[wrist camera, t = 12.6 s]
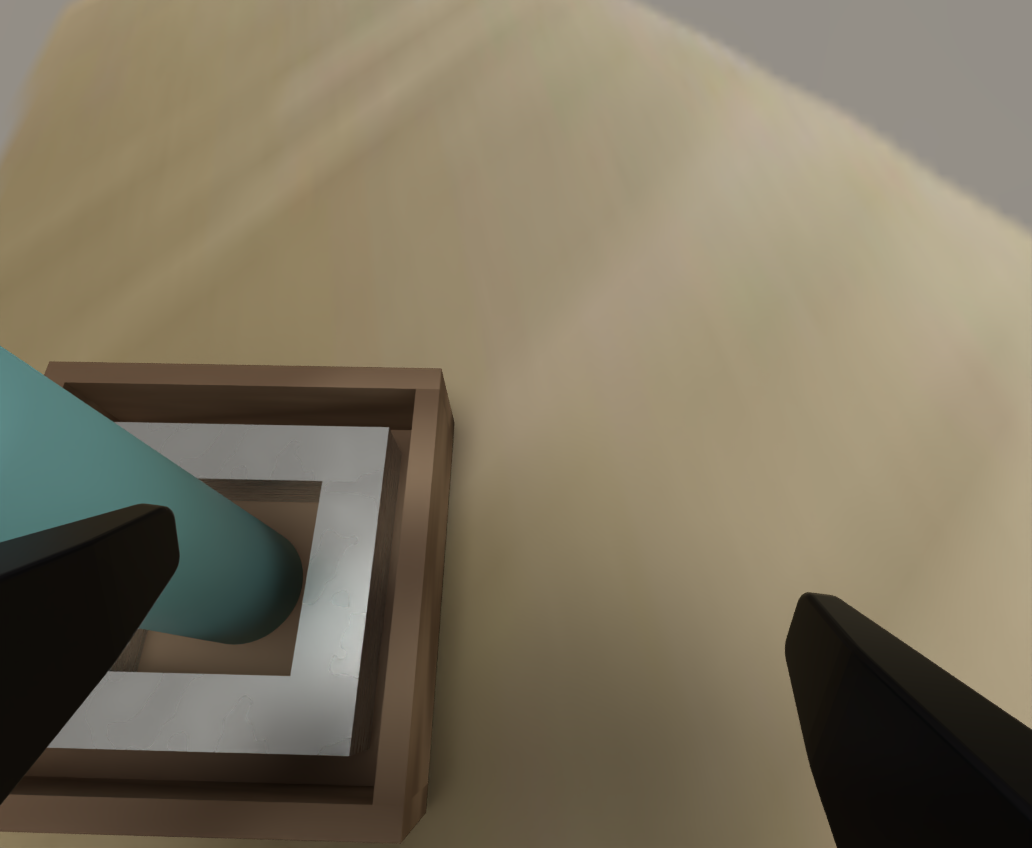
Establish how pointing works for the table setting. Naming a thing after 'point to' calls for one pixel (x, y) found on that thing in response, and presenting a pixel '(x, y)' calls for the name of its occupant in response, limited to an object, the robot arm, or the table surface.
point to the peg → (133, 480)
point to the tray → (298, 640)
